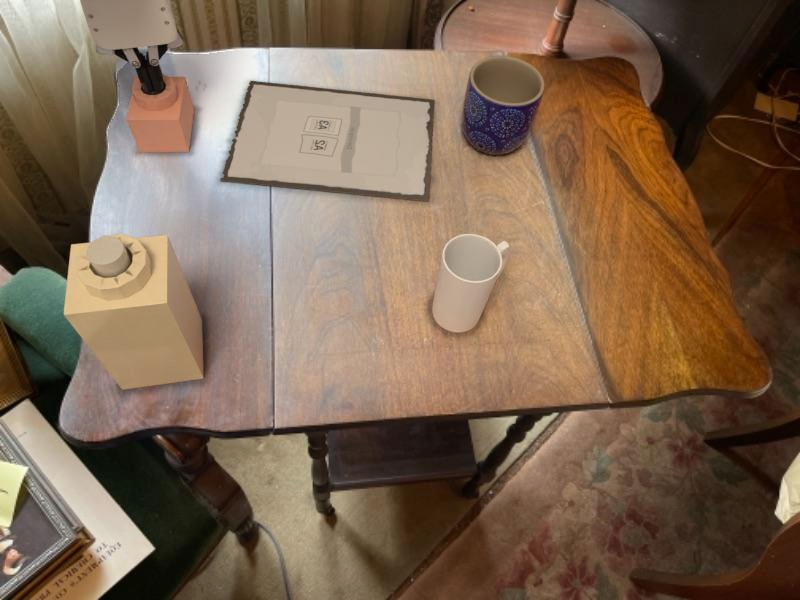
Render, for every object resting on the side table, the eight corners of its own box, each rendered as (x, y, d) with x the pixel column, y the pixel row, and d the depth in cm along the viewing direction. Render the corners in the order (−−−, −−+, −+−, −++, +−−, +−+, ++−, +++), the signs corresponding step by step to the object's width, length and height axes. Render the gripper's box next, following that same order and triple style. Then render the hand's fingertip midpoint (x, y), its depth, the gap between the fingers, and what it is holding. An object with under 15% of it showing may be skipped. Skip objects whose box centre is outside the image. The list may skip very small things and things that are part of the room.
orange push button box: (139, 152, 88) (122, 109, 81) (147, 110, 93) (131, 65, 86) (188, 152, 89) (176, 109, 82) (194, 110, 94) (182, 65, 87)
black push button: (144, 102, 84) (141, 92, 83) (147, 89, 86) (143, 78, 84) (165, 102, 85) (162, 92, 83) (167, 89, 86) (164, 79, 85)
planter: (443, 126, 96) (454, 66, 86) (500, 106, 99) (516, 47, 90) (481, 172, 91) (497, 114, 82) (539, 150, 95) (561, 92, 85)
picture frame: (220, 181, 86) (429, 202, 87) (219, 179, 86) (429, 200, 87) (249, 81, 98) (434, 100, 99) (249, 79, 97) (434, 98, 98)
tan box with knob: (122, 389, 69) (54, 303, 53) (125, 329, 73) (62, 231, 57) (203, 378, 70) (161, 291, 54) (202, 319, 75) (162, 221, 58)
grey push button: (92, 279, 55) (84, 266, 53) (95, 251, 57) (87, 237, 55) (129, 275, 55) (122, 262, 54) (131, 247, 57) (124, 234, 55)
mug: (450, 344, 75) (467, 292, 65) (419, 305, 78) (430, 249, 68) (511, 307, 79) (536, 252, 69) (479, 271, 82) (498, 213, 71)
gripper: (174, -71, 72) (205, 61, 87) (38, -62, 69) (95, 74, 84) (181, -36, 68) (212, 96, 84) (37, -24, 65) (97, 110, 81)
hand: (153, 84), depth 84 cm, fingers closed
